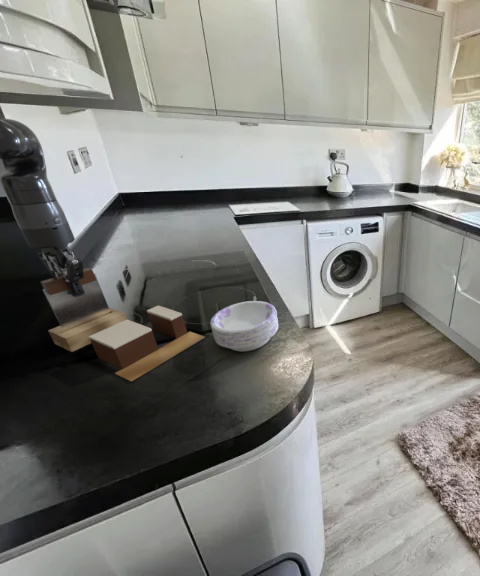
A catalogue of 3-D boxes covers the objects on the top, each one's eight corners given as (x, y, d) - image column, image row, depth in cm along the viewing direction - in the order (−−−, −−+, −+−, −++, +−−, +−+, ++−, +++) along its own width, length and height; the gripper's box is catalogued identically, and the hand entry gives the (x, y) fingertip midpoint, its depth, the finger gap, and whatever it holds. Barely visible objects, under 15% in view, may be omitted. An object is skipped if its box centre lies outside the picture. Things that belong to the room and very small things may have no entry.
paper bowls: (218, 331, 86) (212, 305, 83) (277, 320, 92) (273, 296, 88) (214, 365, 74) (207, 337, 70) (283, 351, 79) (279, 324, 76)
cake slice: (153, 330, 84) (146, 310, 82) (164, 324, 87) (158, 305, 84) (176, 339, 81) (170, 318, 79) (187, 332, 84) (181, 313, 81)
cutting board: (78, 358, 75) (77, 355, 75) (155, 321, 90) (154, 318, 89) (132, 385, 68) (131, 381, 67) (206, 340, 83) (205, 336, 82)
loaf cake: (98, 358, 74) (88, 336, 71) (134, 339, 80) (127, 319, 78) (122, 369, 71) (113, 347, 68) (158, 349, 77) (151, 328, 75)
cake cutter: (63, 328, 75) (42, 284, 70) (59, 326, 76) (37, 282, 71) (111, 309, 84) (94, 268, 79) (106, 307, 84) (89, 267, 79)
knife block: (73, 355, 76) (65, 338, 74) (56, 347, 79) (47, 330, 76) (131, 328, 87) (124, 312, 84) (114, 322, 89) (107, 306, 87)
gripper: (4, 222, 69) (40, 294, 76) (37, 231, 64) (73, 307, 71) (48, 215, 75) (78, 282, 83) (82, 222, 70) (110, 293, 78)
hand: (75, 294), depth 77 cm, fingers closed on cake cutter, 2 cm apart
